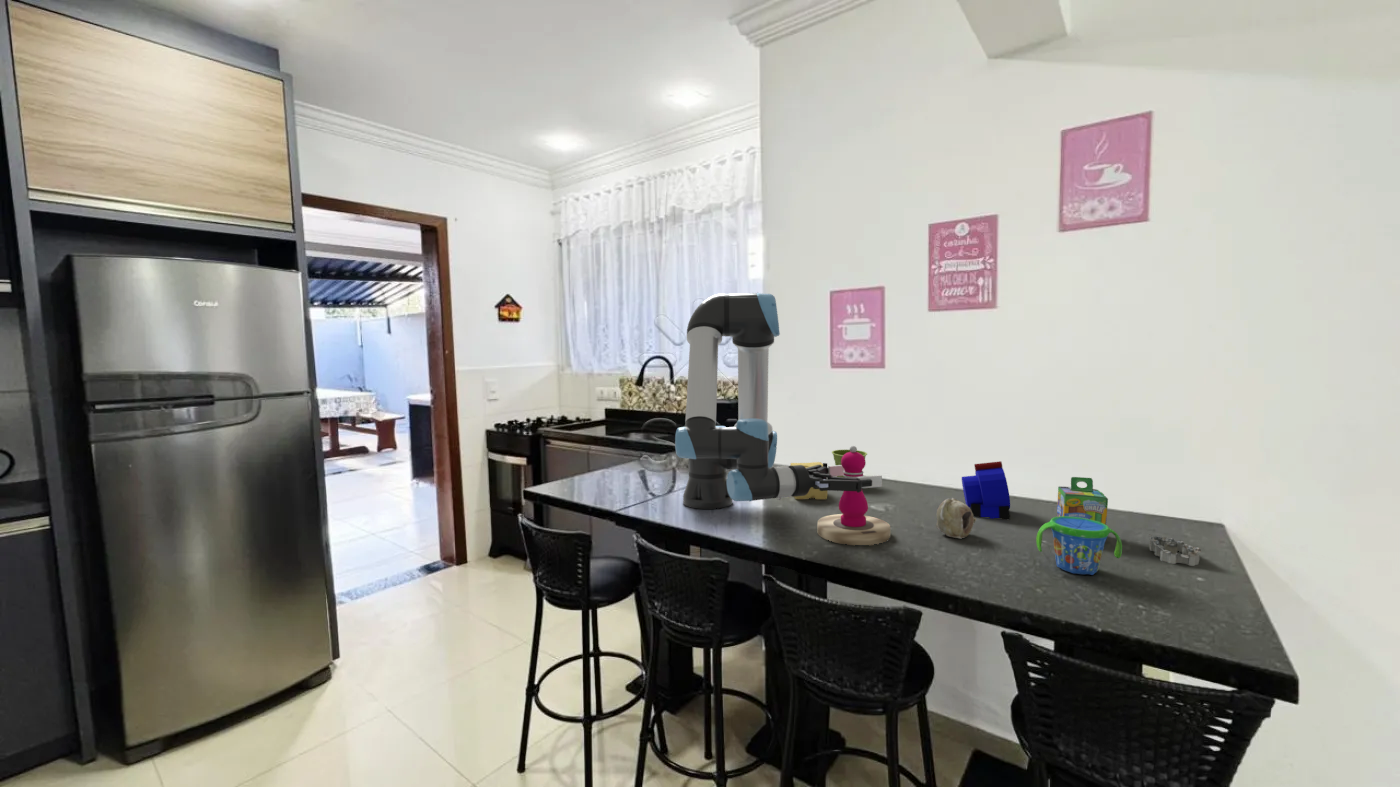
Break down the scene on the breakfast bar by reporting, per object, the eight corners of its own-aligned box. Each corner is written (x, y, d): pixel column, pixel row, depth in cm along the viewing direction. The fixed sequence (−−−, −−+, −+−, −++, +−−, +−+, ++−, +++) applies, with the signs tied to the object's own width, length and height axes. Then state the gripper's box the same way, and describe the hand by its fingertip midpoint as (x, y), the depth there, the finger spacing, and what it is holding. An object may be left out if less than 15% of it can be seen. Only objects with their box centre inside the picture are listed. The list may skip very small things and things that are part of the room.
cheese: (827, 499, 183) (828, 468, 182) (793, 500, 183) (793, 468, 182) (821, 491, 193) (821, 461, 193) (788, 491, 194) (788, 461, 193)
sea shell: (941, 546, 147) (929, 510, 146) (940, 531, 155) (928, 496, 153) (981, 540, 143) (969, 503, 142) (978, 524, 151) (966, 489, 150)
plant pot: (832, 488, 197) (832, 455, 196) (830, 480, 209) (830, 449, 208) (868, 489, 195) (869, 456, 194) (864, 481, 207) (865, 449, 206)
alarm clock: (1012, 520, 161) (1014, 466, 159) (963, 516, 165) (964, 463, 163) (1004, 508, 172) (1006, 457, 171) (959, 505, 176) (960, 455, 175)
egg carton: (1202, 568, 126) (1203, 550, 126) (1159, 563, 129) (1160, 545, 129) (1185, 552, 136) (1187, 535, 135) (1146, 547, 139) (1147, 531, 138)
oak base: (804, 526, 156) (805, 517, 156) (864, 520, 161) (864, 511, 161) (840, 549, 139) (840, 538, 139) (905, 541, 144) (905, 530, 144)
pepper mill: (869, 528, 146) (869, 448, 144) (839, 527, 147) (838, 448, 146) (866, 520, 153) (866, 443, 151) (838, 518, 154) (838, 443, 153)
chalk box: (1062, 540, 144) (1064, 480, 143) (1055, 529, 152) (1057, 473, 151) (1106, 544, 141) (1109, 483, 139) (1096, 533, 149) (1099, 475, 148)
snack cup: (1113, 565, 127) (1115, 519, 127) (1128, 584, 118) (1131, 534, 117) (1031, 556, 133) (1033, 512, 132) (1039, 573, 123) (1041, 526, 123)
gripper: (768, 484, 156) (839, 478, 162) (814, 510, 132) (894, 501, 138) (768, 457, 155) (839, 451, 161) (814, 477, 131) (895, 470, 138)
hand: (865, 474), depth 150 cm, fingers open, 13 cm apart
